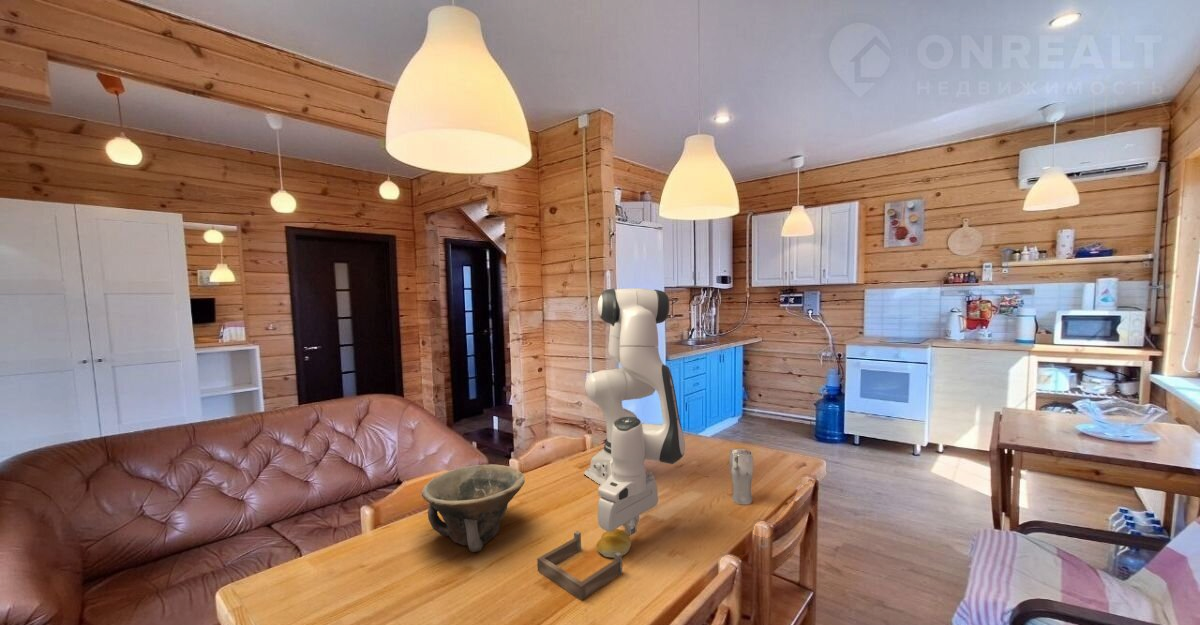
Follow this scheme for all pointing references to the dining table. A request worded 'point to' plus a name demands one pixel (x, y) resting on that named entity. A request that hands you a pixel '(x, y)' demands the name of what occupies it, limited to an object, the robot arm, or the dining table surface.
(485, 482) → the bowl
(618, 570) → the bay
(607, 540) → the bread roll
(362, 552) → the dining table surface
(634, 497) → the robot arm
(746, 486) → the beer glass
